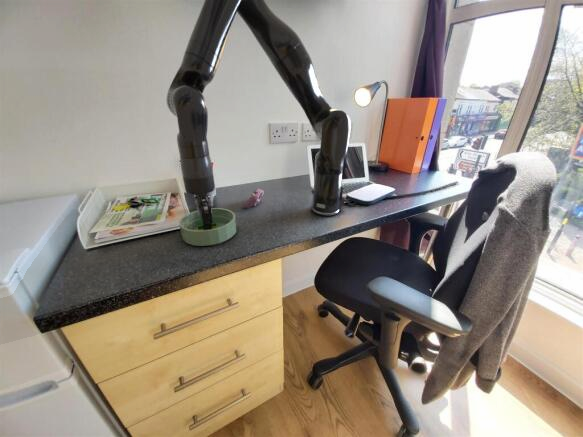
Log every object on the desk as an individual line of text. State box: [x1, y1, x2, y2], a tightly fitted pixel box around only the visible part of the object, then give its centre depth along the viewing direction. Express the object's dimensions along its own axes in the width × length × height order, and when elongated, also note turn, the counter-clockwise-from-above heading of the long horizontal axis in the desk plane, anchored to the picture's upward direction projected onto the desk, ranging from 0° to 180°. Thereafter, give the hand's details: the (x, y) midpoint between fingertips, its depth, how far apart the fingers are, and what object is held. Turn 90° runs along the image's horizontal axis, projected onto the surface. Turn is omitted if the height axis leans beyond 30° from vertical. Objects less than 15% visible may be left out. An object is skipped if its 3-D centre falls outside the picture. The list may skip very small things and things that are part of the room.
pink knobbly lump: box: [242, 188, 265, 209], centre depth 89 cm, size 10×5×7 cm, turn 168°
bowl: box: [178, 207, 238, 247], centre depth 69 cm, size 15×15×5 cm
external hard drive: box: [345, 183, 396, 206], centre depth 98 cm, size 24×12×2 cm, turn 132°
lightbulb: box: [207, 186, 217, 208], centre depth 84 cm, size 6×6×11 cm
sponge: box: [196, 218, 217, 231], centre depth 68 cm, size 5×4×3 cm
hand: (207, 230), depth 69 cm, fingers closed on sponge, 4 cm apart
